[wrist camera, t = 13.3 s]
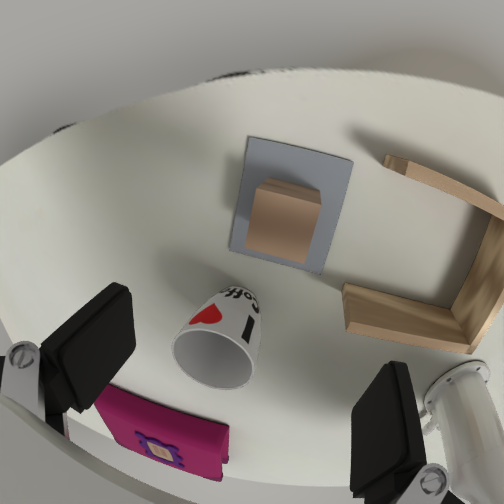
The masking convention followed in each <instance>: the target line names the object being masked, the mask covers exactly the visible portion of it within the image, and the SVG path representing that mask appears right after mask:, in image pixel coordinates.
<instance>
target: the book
mask: <svg viewBox="0 0 504 504" xmlns="http://www.w3.org/2000/svg"><path fill="white" fill-rule="evenodd" d="M94 405H95V407H96V409H97V411H98V412H99V414H100V416H101V417H102V419H103V421H104V422H105V424H106V426H107V427H108V429H109V430H110V432H111V433H112V435H113V437H114V439H115V440H116V442H117V443H118V444H119V445H121V446H123V447H125V448H127V449H129V450H132V451H134V452H137V453H139V454H141V455H143V456H146V457H148V458H151V459H153V460H155V461H158V462H161V463H163V464H166V465H169V466H171V467H174V468H177V469H180V470H182V471H186V472H188V473H192V474H195V475H198V476H201V477H203V478H206V479H210V480H213V481H219V482H221V481H222V478H223V473H222V463H223V464H227V463H228V460H229V456H228V447H229V426H226V425H222V424H218V423H214V422H211V421H207V420H203V419H200V418H197V417H193V416H190V415H187V414H184V413H181V412H178V411H175V410H172V409H169V408H166V407H163V406H160V405H158V404H155V403H152V402H150V401H147V400H145V399H142V398H140V397H137V396H135V395H132V394H130V393H128V392H125V391H123V390H121V389H119V388H116V387H114V386H112V385H110V384H108V385H107V386H106V387H105V389H104V390H103V391H102V393H101V394H100V395H99V396H98V398H97V399H96V400H95V402H94Z"/></svg>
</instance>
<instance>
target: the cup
mask: <svg viewBox="0 0 504 504" xmlns="http://www.w3.org/2000/svg"><path fill="white" fill-rule="evenodd" d="M260 341H261V313H260V308H259V303H258V300H257V298H256V297H255V295H254V294H253V293H252V292H250V291H249V290H247V289H245V288H242V287H237V286H233V287H228V288H226V289H224V290H222V291H221V292H219V293H217V294H216V295H214V296H212V297H211V298H210V299H209V300H208V301H207V302H206V303H205V304H204V305H202V306H201V307H200V308H199V309H198V310H197V311H196V312H195V313H194V314H193V316H192V317H191V318H190V319H189V321H188V322H187V323H186V324H185V326H184V327H183V328H182V329H181V331H180V332H179V333H178V334H177V336H176V337H175V338H174V340H173V343H172V354H173V357H174V360H175V361H176V363H177V365H178V366H179V367H180V369H181V370H182V371H183V372H184V373H185V374H186V375H188V376H189V377H190V378H192V379H193V380H195V381H197V382H198V383H200V384H203V385H205V386H208V387H211V388H215V389H221V390H232V389H237V388H241V387H243V386H245V385H246V384H248V383H249V382H250V381H251V379H252V378H253V376H254V372H255V367H256V362H257V357H258V352H259V347H260Z"/></svg>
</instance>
